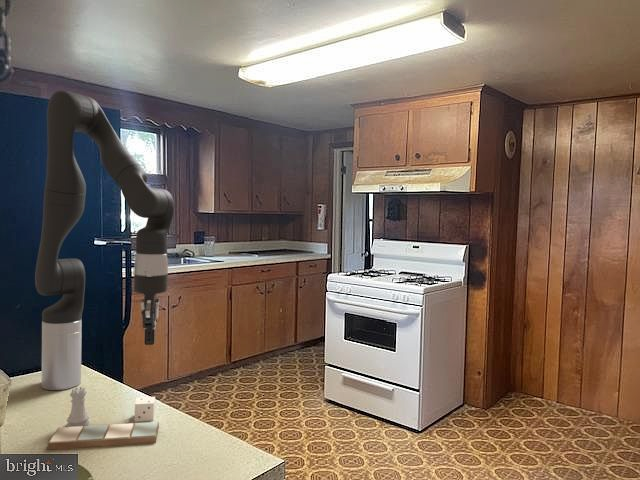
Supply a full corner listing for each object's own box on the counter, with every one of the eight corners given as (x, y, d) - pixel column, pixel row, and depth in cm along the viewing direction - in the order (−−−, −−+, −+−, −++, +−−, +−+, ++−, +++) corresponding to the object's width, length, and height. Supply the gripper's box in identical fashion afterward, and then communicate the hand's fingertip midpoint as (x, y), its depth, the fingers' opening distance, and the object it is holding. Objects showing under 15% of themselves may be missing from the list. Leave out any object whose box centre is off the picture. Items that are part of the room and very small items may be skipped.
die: (136, 414, 114) (137, 397, 113) (155, 413, 115) (155, 396, 114) (134, 422, 110) (134, 404, 109) (153, 420, 111) (153, 403, 110)
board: (58, 433, 102) (58, 426, 102) (158, 427, 107) (158, 421, 107) (47, 449, 96) (47, 442, 96) (155, 442, 100) (156, 435, 100)
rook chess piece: (80, 431, 104) (80, 394, 103) (61, 428, 105) (61, 391, 104) (93, 422, 108) (94, 386, 108) (75, 420, 109) (76, 384, 109)
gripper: (138, 268, 123) (136, 337, 124) (130, 275, 110) (129, 352, 111) (169, 269, 124) (167, 336, 125) (165, 276, 111) (163, 351, 112)
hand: (149, 343), depth 118 cm, fingers closed
